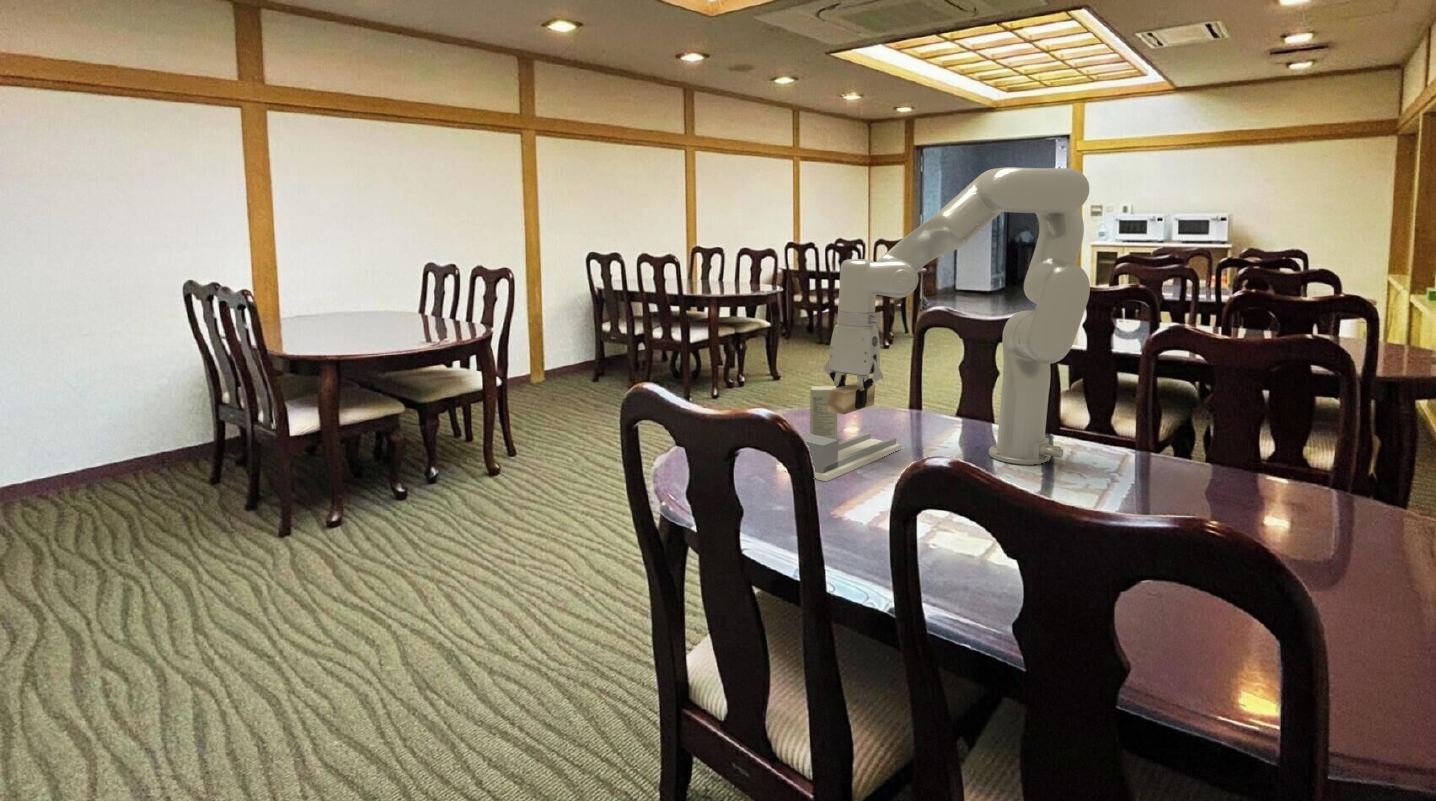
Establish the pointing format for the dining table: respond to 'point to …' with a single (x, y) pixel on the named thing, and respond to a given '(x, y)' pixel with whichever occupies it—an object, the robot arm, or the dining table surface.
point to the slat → (847, 398)
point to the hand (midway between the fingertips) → (850, 405)
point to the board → (846, 453)
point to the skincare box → (822, 413)
